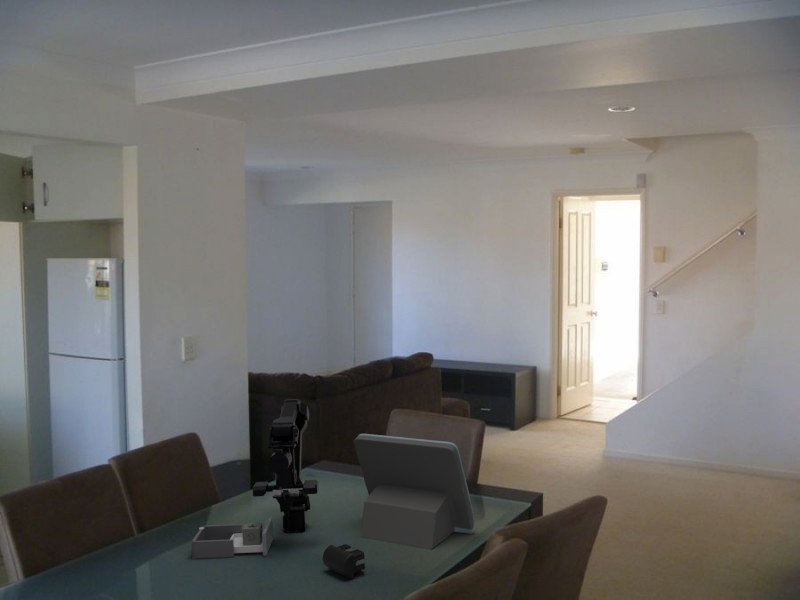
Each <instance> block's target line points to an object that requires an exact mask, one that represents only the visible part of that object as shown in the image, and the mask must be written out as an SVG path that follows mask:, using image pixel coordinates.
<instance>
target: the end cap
mask: <svg viewBox="0 0 800 600" xmlns="http://www.w3.org/2000/svg"><path fill="white" fill-rule="evenodd" d="M348 549H352V546H351V545H348V544H347V543H343V544H342V545H338V546H335V545H333V544H330V545H328V546H327V547H326V548H325V549H324V551H323V554H322V562H323V564H324V566H325V567H327V568H328V569H329V570H332V571H334V572H336V573H338V574H340V575H342V576H343V577H346V578H348V579H350V580H354V579H356V578H359V577H361V576H364V575H365V572H364V571H365V569H366V564H365V562H363V563H360V564H357V562H359V561H362V560H365V552H364V551H363V550H360V549H359V548H358V549H354V550H348ZM363 570H364V571H363Z"/></svg>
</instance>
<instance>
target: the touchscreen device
mask: <svg viewBox="0 0 800 600" xmlns="http://www.w3.org/2000/svg"><path fill="white" fill-rule="evenodd" d="M353 446H354V450H355V452H356V457H357V459H358V463H359V466H360V469H361V474H362V477H363V480H364V484H365V487H366V490H367V493H368V496H367V498H366V499H365V500H364V502H363V509H362V517H361V527H360V535H359V536H360V538H364V539H368V540H369V539H370V540H375V541H379V542H380V541H381V542H386V543H391V544H398V545H402V546H408V547H415V548H419V549H426V550H432V549H434V548H435V547H437V546H438V545H439V544H440V543H441V542H443V541H444V540H445V539H447V538H448V537H449V536H450V535H452V534H453V533H462V534H468V535H473V534H474V531H475V516H474V510H473V506H472V501H471V495H470V492H469V487H468V483H467V479H466V474H465V470H464V467H463V463H462V458H461V455H460V453H461V452H460V450H459V447H458V445H456V443H453V442H451V441H441V440H435V439H434V440H431V439H423V438H422V439H421V438H414V437H413V438H411V437H400V436H391V435H380V434H371V433H370V434H369V433H359V434H358V435H357V437H356V438H355V439H354V440H353Z"/></svg>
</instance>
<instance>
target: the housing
mask: <svg viewBox="0 0 800 600" xmlns="http://www.w3.org/2000/svg"><path fill="white" fill-rule="evenodd" d="M242 529H243V524H242V523H239V524H237V523H236V524H217V525H215V524H214V525H211V524H210V525H202V526H201V527H198V531H197V533H196V535H195V536H194V538H193V539H192V540H191V543H190V544H191V557H192V558H191V560H207V559H208V560H211V559H228V558H229V559H230V558H231V559H232V558H233V559H234V558H235V556H236V554H237V553H234V539H230V538H231V537H232V535H233V534H239V533H242Z"/></svg>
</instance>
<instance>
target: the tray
mask: <svg viewBox="0 0 800 600" xmlns="http://www.w3.org/2000/svg"><path fill="white" fill-rule="evenodd" d="M262 532H263V533H262V542H261V545H252V546H243V536H242V533H239V534H233V535H232V537H231V538H230V539H234V553H236V554H245V553H246V554H247V553H262V555H263V556H264V557H265V556H267V555H268V553H269V550H270V548H271V546H272V545H271V544H272V543H273V541H274V522H273V517H268V519H267V521H266V524H265V526H264V528H263V529H262Z"/></svg>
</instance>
